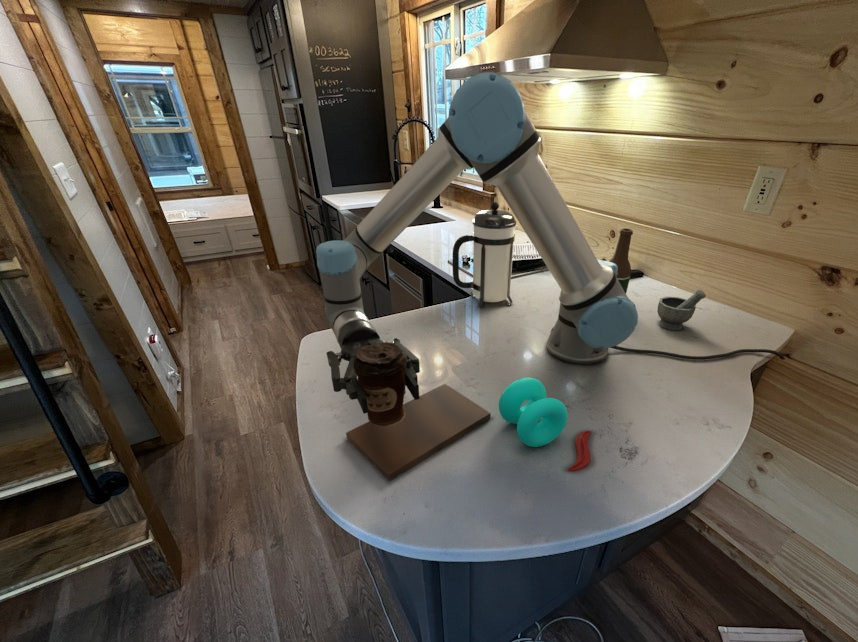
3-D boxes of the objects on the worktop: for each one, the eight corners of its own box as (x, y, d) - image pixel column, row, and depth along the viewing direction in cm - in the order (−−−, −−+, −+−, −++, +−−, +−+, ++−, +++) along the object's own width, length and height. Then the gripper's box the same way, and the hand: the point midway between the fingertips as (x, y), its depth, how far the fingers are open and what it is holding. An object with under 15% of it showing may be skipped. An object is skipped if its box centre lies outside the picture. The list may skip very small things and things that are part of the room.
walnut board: (445, 389, 89) (444, 383, 88) (490, 418, 81) (490, 413, 80) (347, 438, 75) (345, 432, 74) (389, 481, 67) (388, 474, 66)
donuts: (519, 456, 72) (524, 412, 66) (494, 423, 80) (497, 380, 74) (566, 441, 75) (575, 398, 70) (538, 411, 83) (543, 369, 77)
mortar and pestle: (647, 324, 118) (658, 285, 111) (660, 315, 123) (671, 277, 117) (686, 337, 111) (700, 296, 105) (699, 327, 117) (713, 287, 110)
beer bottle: (625, 306, 129) (644, 228, 116) (618, 315, 123) (637, 234, 110) (601, 301, 132) (616, 225, 119) (593, 309, 126) (609, 230, 113)
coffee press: (482, 287, 141) (485, 195, 125) (522, 298, 133) (530, 201, 117) (451, 303, 129) (450, 203, 113) (493, 316, 121) (499, 210, 105)
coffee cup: (401, 436, 66) (393, 369, 59) (353, 429, 67) (340, 362, 60) (417, 404, 73) (412, 341, 66) (374, 398, 74) (364, 336, 67)
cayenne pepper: (579, 476, 68) (581, 468, 67) (555, 464, 70) (556, 456, 69) (607, 439, 76) (609, 431, 75) (584, 429, 78) (585, 421, 77)
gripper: (407, 343, 86) (451, 401, 69) (306, 364, 78) (328, 436, 61) (405, 310, 82) (451, 364, 65) (298, 329, 74) (318, 396, 57)
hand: (391, 399), depth 63 cm, fingers closed on coffee cup, 8 cm apart
